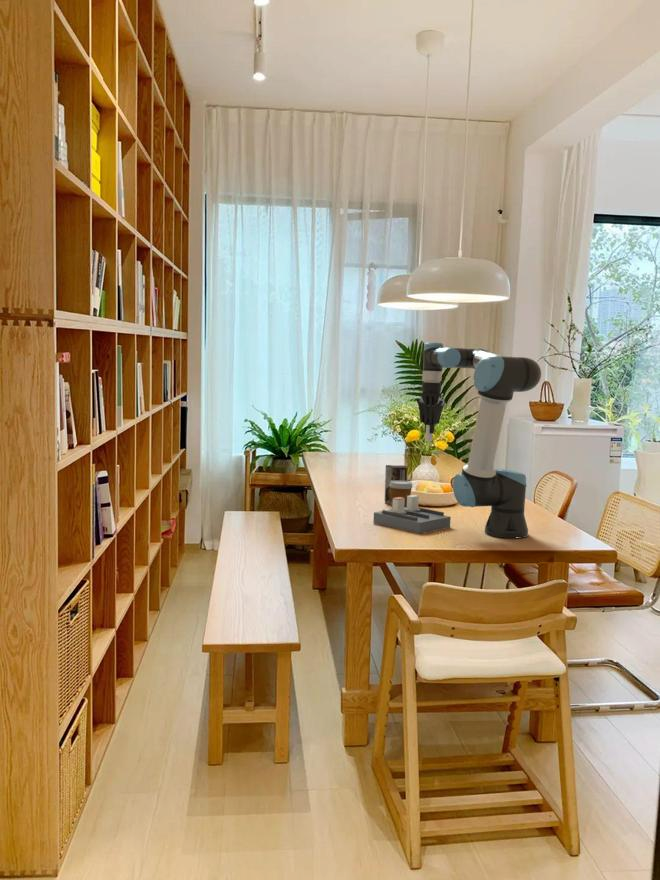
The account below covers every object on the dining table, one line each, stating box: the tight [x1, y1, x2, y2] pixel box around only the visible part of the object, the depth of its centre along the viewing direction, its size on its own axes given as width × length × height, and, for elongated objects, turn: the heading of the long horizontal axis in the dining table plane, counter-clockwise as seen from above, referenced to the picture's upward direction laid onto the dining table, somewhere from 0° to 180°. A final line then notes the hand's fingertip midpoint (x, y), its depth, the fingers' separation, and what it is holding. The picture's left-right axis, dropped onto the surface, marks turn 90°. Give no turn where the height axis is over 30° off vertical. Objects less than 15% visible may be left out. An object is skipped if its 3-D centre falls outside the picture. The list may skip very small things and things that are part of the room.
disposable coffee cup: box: [389, 480, 414, 508], centre depth 307 cm, size 10×10×12 cm
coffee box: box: [383, 464, 408, 505], centre depth 324 cm, size 9×6×16 cm
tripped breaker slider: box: [391, 497, 407, 514], centre depth 280 cm, size 4×5×6 cm
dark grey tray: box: [372, 494, 451, 534], centre depth 281 cm, size 22×18×10 cm
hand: (428, 441), depth 300 cm, fingers closed
